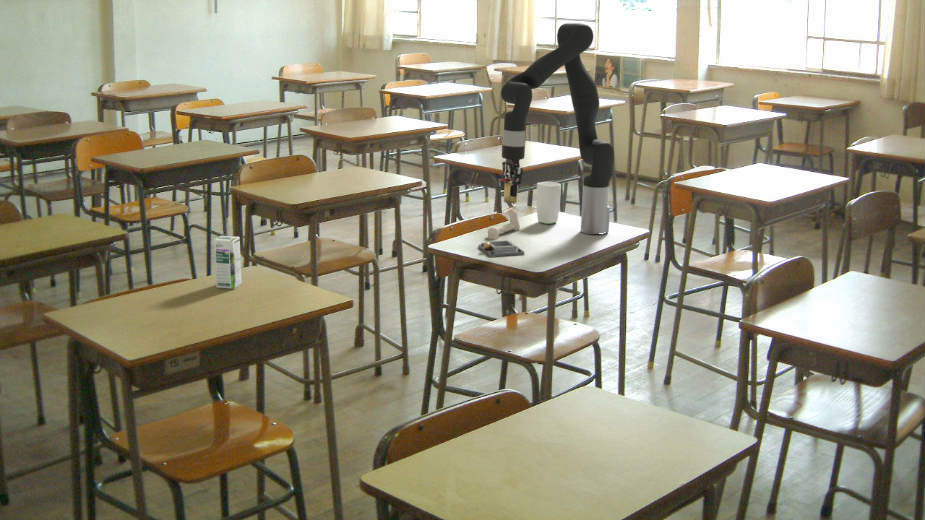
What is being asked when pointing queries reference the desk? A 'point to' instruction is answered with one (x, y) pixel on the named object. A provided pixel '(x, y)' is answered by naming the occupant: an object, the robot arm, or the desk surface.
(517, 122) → the robot arm
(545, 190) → the cup
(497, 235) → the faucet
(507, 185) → the valve
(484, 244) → the grey compartment tray
